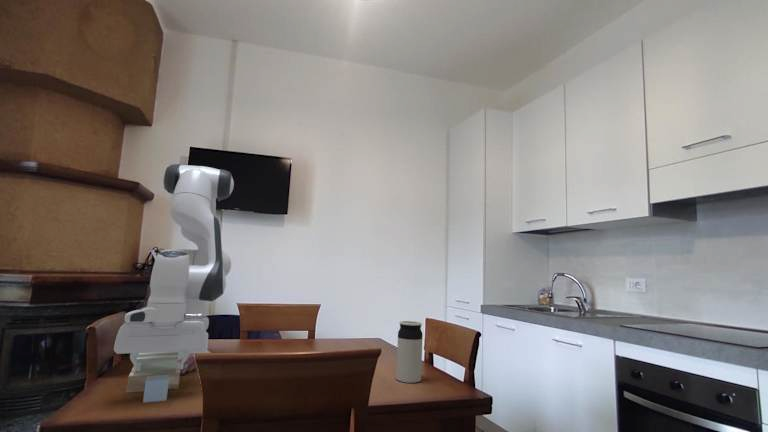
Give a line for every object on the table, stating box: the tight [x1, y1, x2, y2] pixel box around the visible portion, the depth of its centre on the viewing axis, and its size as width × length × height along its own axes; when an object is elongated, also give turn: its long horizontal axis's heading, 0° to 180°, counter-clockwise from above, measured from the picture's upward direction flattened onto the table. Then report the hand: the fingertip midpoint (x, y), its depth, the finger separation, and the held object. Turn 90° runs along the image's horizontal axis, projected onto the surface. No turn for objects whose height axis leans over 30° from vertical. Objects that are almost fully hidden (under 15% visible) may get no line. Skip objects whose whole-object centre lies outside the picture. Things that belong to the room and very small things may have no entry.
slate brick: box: [142, 375, 169, 403], centre depth 98 cm, size 5×5×5 cm
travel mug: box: [395, 320, 423, 384], centre depth 127 cm, size 8×8×18 cm
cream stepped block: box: [126, 351, 181, 394], centre depth 110 cm, size 12×12×8 cm
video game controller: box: [177, 353, 197, 375], centre depth 123 cm, size 10×5×7 cm, turn 169°
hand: (158, 370), depth 98 cm, fingers open, 8 cm apart
